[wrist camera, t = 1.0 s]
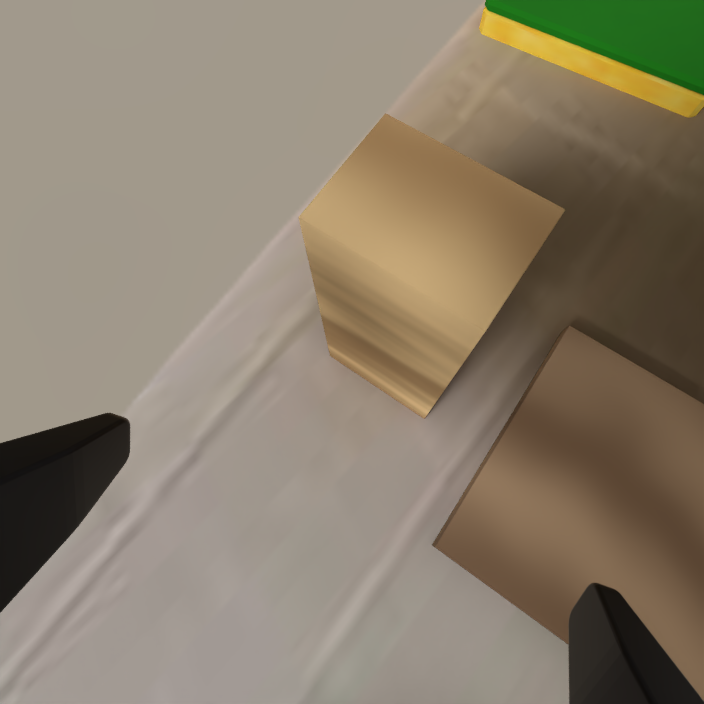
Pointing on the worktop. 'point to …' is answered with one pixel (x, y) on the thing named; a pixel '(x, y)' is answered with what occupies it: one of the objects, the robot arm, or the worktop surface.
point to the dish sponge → (613, 43)
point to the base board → (593, 499)
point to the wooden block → (416, 258)
